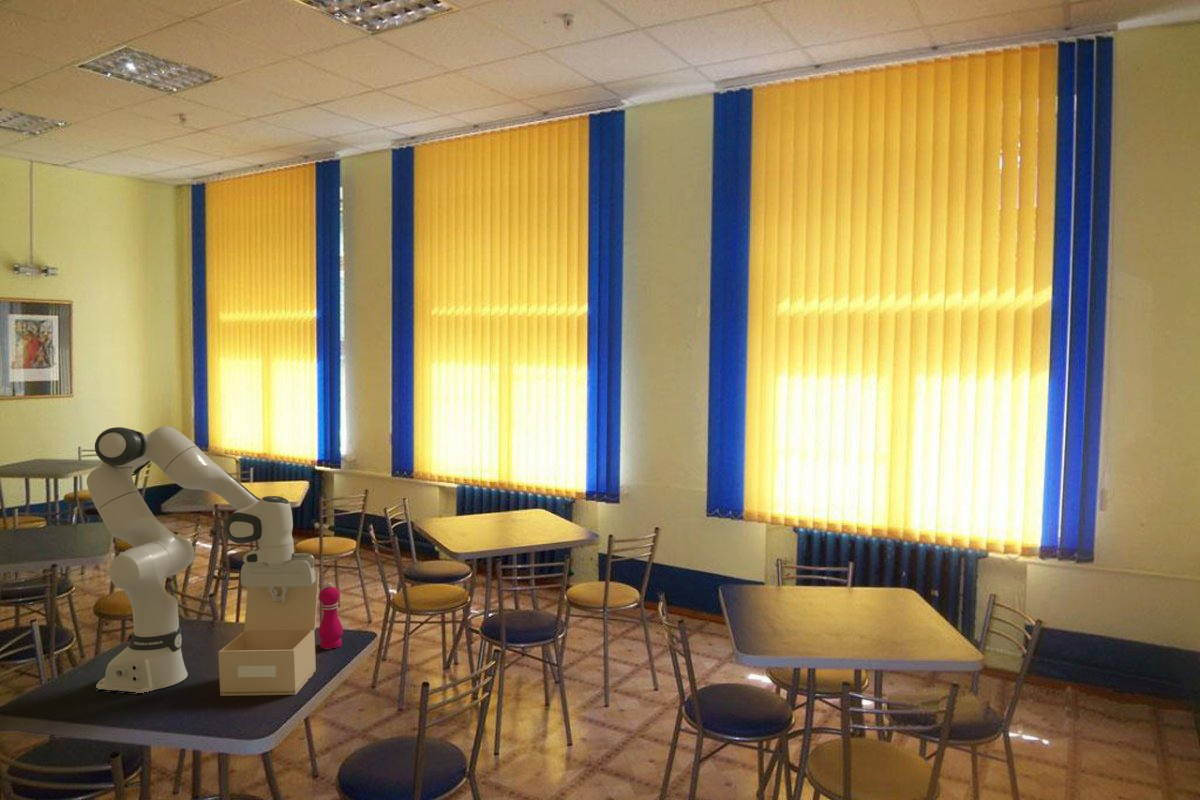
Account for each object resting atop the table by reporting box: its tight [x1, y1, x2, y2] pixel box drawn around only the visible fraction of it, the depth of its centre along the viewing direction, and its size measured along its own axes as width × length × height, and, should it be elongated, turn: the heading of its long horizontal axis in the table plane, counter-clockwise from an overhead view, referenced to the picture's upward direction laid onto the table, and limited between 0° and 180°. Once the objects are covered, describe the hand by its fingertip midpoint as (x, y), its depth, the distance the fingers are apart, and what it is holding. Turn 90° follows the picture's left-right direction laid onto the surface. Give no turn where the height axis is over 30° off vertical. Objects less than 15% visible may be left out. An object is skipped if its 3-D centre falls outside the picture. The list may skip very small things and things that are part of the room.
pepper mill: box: [318, 581, 344, 649], centre depth 257 cm, size 7×7×20 cm
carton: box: [217, 630, 317, 697], centre depth 229 cm, size 20×16×12 cm
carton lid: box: [243, 572, 320, 631], centre depth 239 cm, size 20×16×1 cm
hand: (279, 601), depth 238 cm, fingers closed
